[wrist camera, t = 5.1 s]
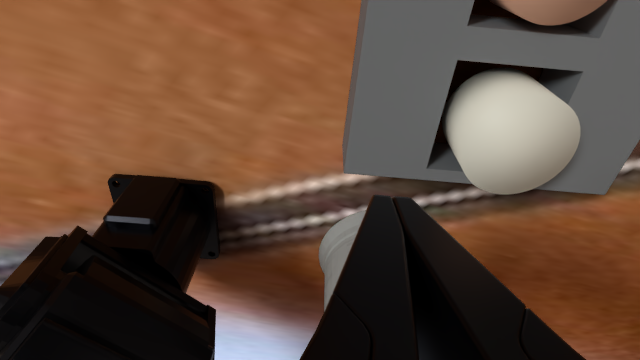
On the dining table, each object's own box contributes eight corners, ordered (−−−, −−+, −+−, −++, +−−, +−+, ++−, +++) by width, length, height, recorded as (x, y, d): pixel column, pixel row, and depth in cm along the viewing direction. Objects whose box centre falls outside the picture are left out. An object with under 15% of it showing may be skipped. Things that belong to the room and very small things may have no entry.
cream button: (520, 160, 20) (550, 198, 17) (431, 152, 20) (448, 190, 17) (559, 72, 18) (602, 100, 15) (457, 63, 17) (481, 89, 15)
